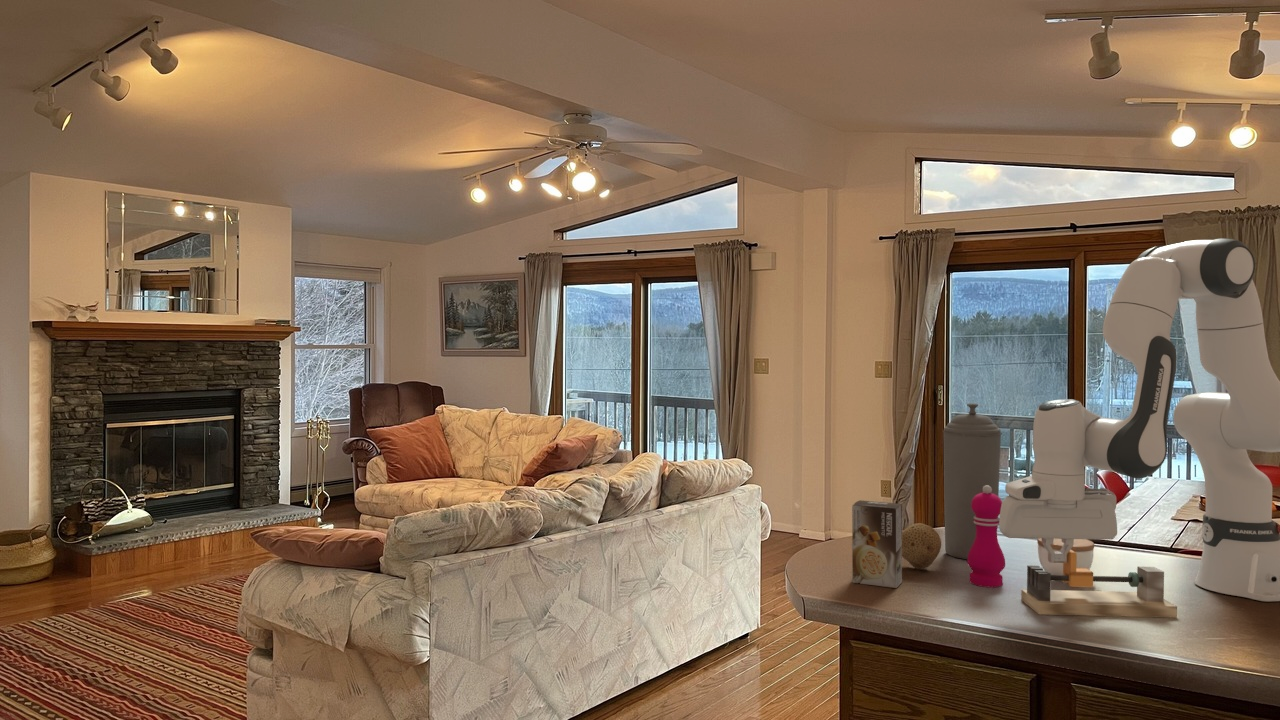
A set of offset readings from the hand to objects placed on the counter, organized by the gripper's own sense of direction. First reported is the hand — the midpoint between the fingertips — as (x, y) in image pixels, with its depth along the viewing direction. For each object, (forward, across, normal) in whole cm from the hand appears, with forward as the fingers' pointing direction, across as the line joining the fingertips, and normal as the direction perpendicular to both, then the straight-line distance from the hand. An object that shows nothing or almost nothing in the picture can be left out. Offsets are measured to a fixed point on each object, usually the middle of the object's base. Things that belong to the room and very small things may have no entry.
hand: (1057, 562), depth 166 cm
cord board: (+8, -7, 0) cm, 11 cm away
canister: (+9, +4, -40) cm, 41 cm away
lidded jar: (+9, -10, -22) cm, 26 cm away
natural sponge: (+9, +19, -26) cm, 33 cm away
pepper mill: (+9, +8, -16) cm, 20 cm away
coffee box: (+8, +30, -15) cm, 34 cm away
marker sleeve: (+4, -4, 0) cm, 5 cm away
